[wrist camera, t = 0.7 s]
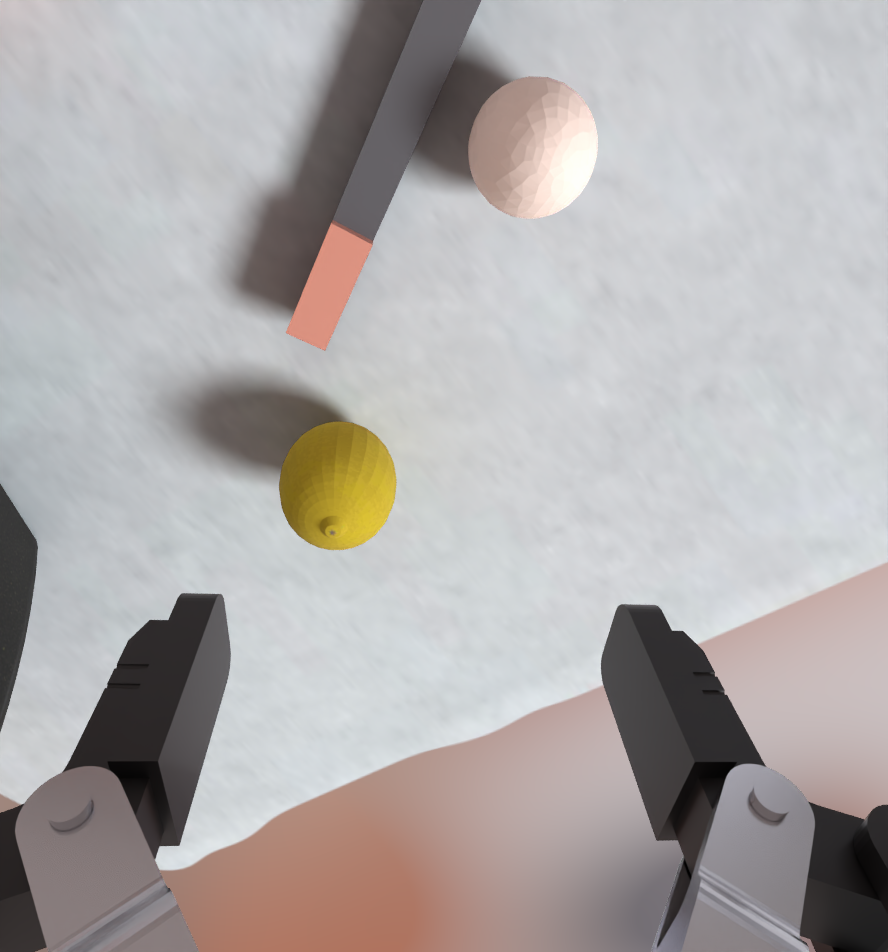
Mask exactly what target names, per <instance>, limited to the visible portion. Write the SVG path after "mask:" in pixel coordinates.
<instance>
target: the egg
mask: <svg viewBox="0 0 888 952" xmlns="http://www.w3.org/2000/svg"><path fill="white" fill-rule="evenodd" d="M597 146H598V135H597V131H596V126H595V122H594V119H593V116H592V114H591V111H590V109H589V108H588V106H587V105H586V103H585V101H584V100H583V98H582V97H581V96H580V95H579V94H578V93H577V92H576V91H574V90H573V89H572V88H570V87H569V86H567V85H566V84H565V83H563V82H560V81H557V80H554V79H551V78H548V77H525V78H521V79H517V80H514V81H512V82H510V83H508V84H506V85H504V86H502V87H501V88H500V89H498V90H497V91H496V92H494V93H493V94H492V95H491V96H490V97H489V98H488V100H487V101H486V102H485V103H484V104H483V106H482V107H481V109H480V111H479V113H478V115H477V116H476V118H475V120H474V123H473V127H472V130H471V133H470V137H469V143H468V156H469V166H470V170H471V173H472V176H473V179H474V181H475V183H476V185H477V187H478V189H479V191H480V192H481V193H482V195H483V196H484V197H485V198H486V199H487V201H488V202H489V203H490V204H492V205H493V206H494V207H496V208H497V209H499V210H500V211H502V212H504V213H506V214H508V215H510V216H514V217H519V218H525V219H533V218H541V217H545V216H548V215H552V214H555V213H556V212H558V211H560V210H562V209H563V208H565V207H567V206H568V205H569V204H570V203H571V202H572V201H573V200H574V199H576V198H577V197H578V196H579V195H580V193H581V192H582V190H583V189H584V187H585V186H586V184H587V183H588V181H589V179H590V177H591V174H592V172H593V168H594V165H595V161H596V157H597Z"/></svg>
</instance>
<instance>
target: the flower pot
mask: <svg viewBox="0 0 888 952" xmlns="http://www.w3.org/2000/svg"><path fill="white" fill-rule="evenodd" d="M37 550H38V546H37V542H36V539H35V537H34V536H33V535H32V533H31V531H30V530H29V528H28V527H27V525H26V524H25V522H24V520H23V519H22V517H21V516H20V514H19V513H18V511H17V509H16V508H15V506H14V505H13V503H12V502H11V500H10V498H9V497H8V495H7V494H6V492H5V491H4V489H3V487H2V486H1V484H0V731H1V728H2V725H3V722H4V719H5V715H6V712H7V709H8V706H9V702H10V698H11V695H12V691H13V687H14V684H15V680H16V676H17V672H18V668H19V664H20V660H21V655H22V651H23V647H24V643H25V637H26V632H27V627H28V621H29V616H30V610H31V604H32V597H33V590H34V583H35V576H36V564H37Z"/></svg>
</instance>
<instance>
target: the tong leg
mask: <svg viewBox="0 0 888 952" xmlns="http://www.w3.org/2000/svg"><path fill="white" fill-rule="evenodd" d="M480 2H481V0H423V2H422V5H421V7H420V10H419V12H418V15H417V17H416V19H415V22H414V24H413V27H412V29H411V31H410V34H409V36H408V39H407V41H406V44H405V46H404V48H403V51H402V53H401V56H400V58H399V60H398V63H397V65H396V68H395V70H394V73H393V75H392V77H391V80H390V82H389V85H388V87H387V89H386V92H385V94H384V97H383V99H382V102H381V104H380V106H379V109H378V111H377V114H376V116H375V119H374V121H373V123H372V126H371V128H370V131H369V133H368V135H367V138H366V140H365V143H364V145H363V148H362V150H361V152H360V155H359V157H358V160H357V162H356V164H355V167H354V169H353V172H352V174H351V177H350V179H349V181H348V184H347V186H346V189H345V191H344V193H343V196H342V198H341V201H340V203H339V206H338V208H337V210H336V213H335V215H334V218H333V220H332V222H331V225H330V227H329V230H328V232H327V234H326V237H325V239H324V242H323V244H322V247H321V249H320V251H319V254H318V256H317V259H316V261H315V263H314V266H313V268H312V271H311V273H310V276H309V278H308V280H307V283H306V285H305V288H304V290H303V292H302V295H301V297H300V300H299V302H298V305H297V307H296V309H295V312H294V314H293V317H292V319H291V321H290V324H289V326H288V329H287V331H286V333H287V334H289V335H291V336H294V337H296V338H298V339H300V340H302V341H305V342H307V343H309V344H311V345H313V346H316V347H318V348H320V349H322V350H324V351H325V349H326V347H327V345H328V343H329V341H330V338H331V336H332V334H333V332H334V329H335V327H336V325H337V323H338V321H339V318H340V316H341V314H342V312H343V310H344V307H345V305H346V303H347V301H348V298H349V296H350V294H351V292H352V290H353V287H354V285H355V283H356V281H357V278H358V276H359V274H360V272H361V270H362V267H363V265H364V263H365V261H366V258H367V256H368V254H369V252H370V250H371V247H372V245H373V240H374V238H375V235H376V233H377V231H378V229H379V226H380V224H381V222H382V220H383V218H384V215H385V213H386V211H387V209H388V206H389V204H390V202H391V200H392V198H393V195H394V193H395V191H396V189H397V186H398V184H399V182H400V180H401V178H402V175H403V173H404V171H405V169H406V166H407V164H408V162H409V160H410V158H411V155H412V153H413V151H414V149H415V146H416V144H417V142H418V140H419V138H420V135H421V133H422V131H423V129H424V126H425V124H426V122H427V120H428V117H429V115H430V113H431V111H432V109H433V106H434V104H435V102H436V100H437V97H438V95H439V93H440V91H441V89H442V86H443V84H444V82H445V80H446V77H447V75H448V73H449V71H450V69H451V66H452V64H453V62H454V60H455V57H456V55H457V53H458V51H459V49H460V46H461V44H462V42H463V40H464V37H465V35H466V33H467V31H468V29H469V26H470V24H471V22H472V20H473V17H474V15H475V13H476V11H477V9H478V6H479V4H480Z"/></svg>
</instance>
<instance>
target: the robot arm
mask: <svg viewBox="0 0 888 952" xmlns="http://www.w3.org/2000/svg"><path fill="white" fill-rule="evenodd" d="M230 657H231V651H230V641H229V634H228V626H227V619H226V611H225V604H224V598H223V596H222V595H221V594H191V593H182V594H181V595H180V596H179V597H178V599H177V601H176V604H175V606H174V608H173V611H172V613H171V615H170V617H169V620H149V621H148V622H147V623H146V624H145V625H144V626H143V627H142V628H141V629H140V630H139V631H138V632H137V633H136V634H135V635H134V636H133V637H132V638H130V639H129V640H128V642H127V645H126V647H125V649H124V651H123V653H122V655H121V657H120V659H119V661H118V663H117V668H116V669H114V671H113V673H112V675H111V677H110V679H109V681H108V683H107V684H108V686H107V688H105V689H104V691H103V694H102V696H101V698H100V700H99V702H98V704H97V706H96V708H95V710H94V712H93V714H92V716H91V718H90V720H89V722H88V724H87V726H86V728H85V730H84V732H83V734H82V736H81V738H80V740H79V743H78V745H77V747H76V749H75V751H74V753H73V755H72V757H71V759H70V761H69V763H68V764H67V766H66V768H65V769H64V771H63V772H62V773H60V774H58V775H56V776H55V777H53V778H51V779H49V780H48V781H47V782H45V783H44V784H43V785H41V786H40V787H39V788H38V789H37V790H36V791H35V792H34V793H33V794H32V795H31V796H30V797H29V798H28V799H27V801H26V802H25V803H24V804H22V805H20V806H18V807H15V808H13V809H10V810H7V811H5V812H1V813H0V952H35V951H38V950H40V949H43V948H46V947H47V950H48V952H199V951H198V948H197V946H196V944H195V942H194V940H193V937H192V935H191V933H190V930H189V928H188V926H187V924H186V922H185V919H184V917H183V915H182V912H181V910H180V908H179V906H178V904H177V901H176V900H175V897H174V895H173V893H172V892H171V890H170V888H167V886H166V884H165V882H164V880H163V878H162V875H161V873H160V871H159V868H158V866H157V864H156V862H155V858H156V855H157V852H158V849H159V846H179V845H180V842H181V838H182V835H183V831H184V828H185V824H186V821H187V818H188V814H189V811H190V807H191V804H192V800H193V797H194V793H195V790H196V787H197V783H198V780H199V776H200V773H201V769H202V766H203V762H204V759H205V756H206V752H207V749H208V745H209V742H210V738H211V735H212V731H213V728H214V725H215V721H216V718H217V714H218V711H219V707H220V704H221V700H222V697H223V694H224V690H225V687H226V683H227V679H228V675H229V669H230ZM601 674H602V681H603V685H604V688H605V691H606V694H607V697H608V700H609V702H610V705H611V708H612V711H613V714H614V717H615V720H616V723H617V726H618V729H619V732H620V735H621V738H622V741H623V744H624V747H625V749H626V752H627V755H628V758H629V761H630V764H631V767H632V770H633V773H634V776H635V779H636V782H637V785H638V788H639V791H640V793H641V796H642V799H643V802H644V805H645V808H646V811H647V814H648V817H649V820H650V823H651V826H652V829H653V832H654V834H655V837H656V840H657V841H659V840H678V842H679V844H680V847H681V850H682V852H683V855H684V856H683V858H682V860H681V862H680V864H679V867H678V870H677V873H676V876H675V880H674V882H673V886H672V889H671V892H670V895H669V898H668V901H667V904H666V907H665V910H664V913H663V916H662V920H661V923H660V926H659V929H658V932H657V935H656V938H655V941H654V944H653V947H652V950H651V952H809V947H808V945H807V943H806V942H804V941H802V940H801V939H800V936H803V937H806V938H809V939H811V942H812V944H813V946H814V949H815V951H816V952H888V805H881V806H878V807H876V808H875V809H873V810H872V811H871V812H870V814H869V815H868V816H867V817H866V819H865V820H864V819H861V818H858V817H854V816H851V815H848V814H844V813H841V812H838V811H835V810H831V809H828V808H824V807H821V806H818V805H815V804H813V803H810V802H808V801H807V799H806V798H805V796H804V795H803V793H802V792H801V791H800V790H799V789H798V788H797V786H795V785H794V784H793V783H792V782H791V781H790V780H789V779H787V778H786V777H785V776H783V775H782V774H780V773H778V772H776V771H774V770H772V769H770V768H768V767H766V766H765V764H764V762H763V761H762V759H761V757H760V755H759V753H758V752H757V750H756V748H755V746H754V744H753V742H752V740H751V739H750V737H749V735H748V733H747V731H746V729H745V727H744V726H743V724H742V722H741V720H740V718H739V717H738V715H737V713H736V711H735V709H734V707H733V705H732V703H731V702H730V700H729V698H728V696H727V695H725V694H724V688H723V687H722V685H721V683H720V681H719V679H718V677H715V672H714V670H713V668H712V666H711V664H710V663H709V661H708V659H707V657H706V655H705V653H704V651H703V650H702V649H701V648H700V647H699V646H698V645H697V644H696V643H695V642H694V641H693V640H692V639H691V638H690V637H689V636H688V635H687V634H686V633H685V632H683V631H672V630H671V628H670V626H669V624H668V622H667V620H666V618H665V616H664V614H663V612H662V610H661V609H660V608H659V607H658V606H656V605H627V604H621V605H619V606H618V608H617V610H616V613H615V616H614V619H613V622H612V625H611V628H610V632H609V635H608V638H607V641H606V644H605V648H604V651H603V654H602V660H601Z"/></svg>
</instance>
